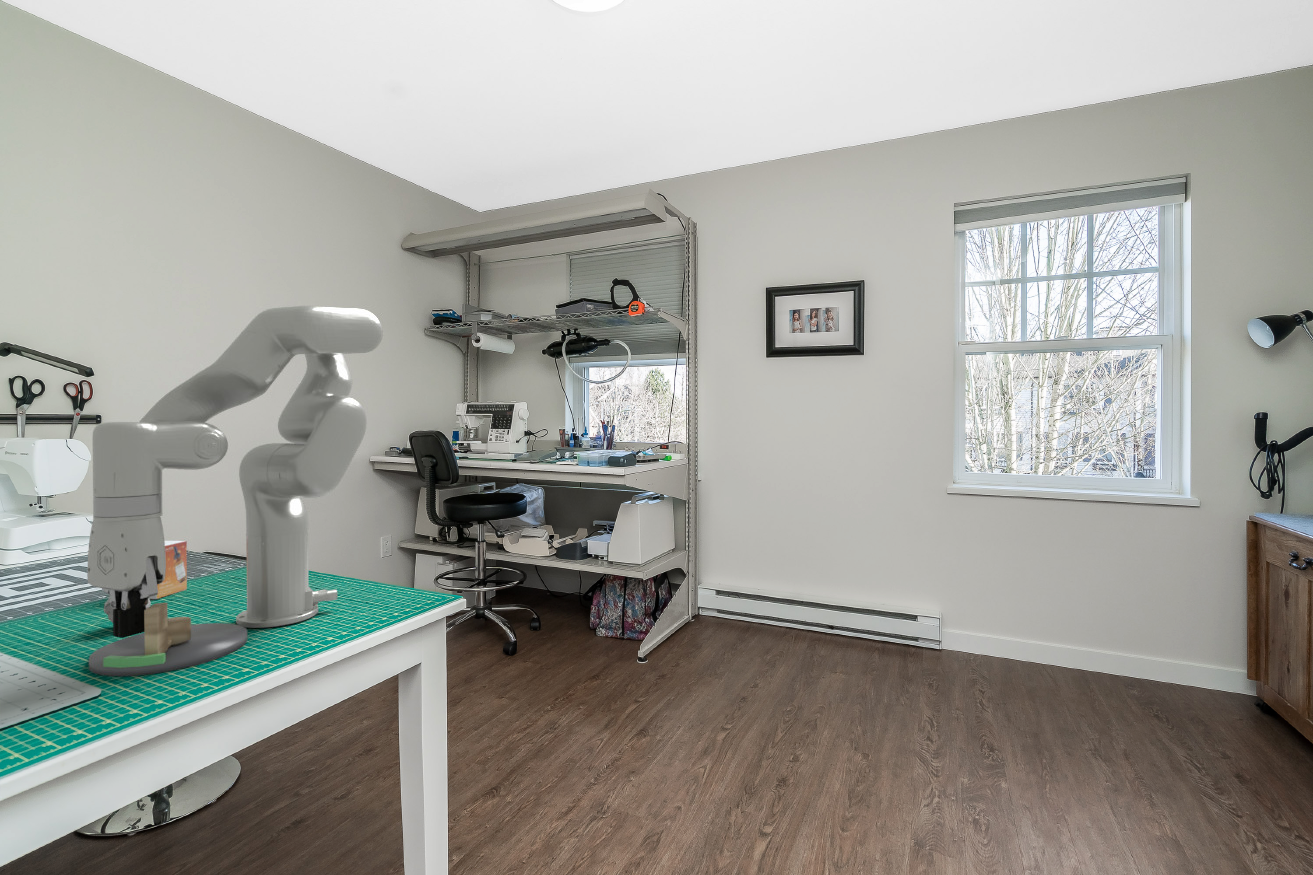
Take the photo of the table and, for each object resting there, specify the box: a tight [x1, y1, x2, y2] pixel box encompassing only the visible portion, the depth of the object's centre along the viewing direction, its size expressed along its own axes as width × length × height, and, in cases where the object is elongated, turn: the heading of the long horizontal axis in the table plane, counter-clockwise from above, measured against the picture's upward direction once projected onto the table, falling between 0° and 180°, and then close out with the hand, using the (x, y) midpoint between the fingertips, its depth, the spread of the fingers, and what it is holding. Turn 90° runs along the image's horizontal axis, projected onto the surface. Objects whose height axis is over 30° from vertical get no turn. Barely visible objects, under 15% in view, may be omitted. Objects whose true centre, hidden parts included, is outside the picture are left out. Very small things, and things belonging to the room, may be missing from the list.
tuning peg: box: [144, 602, 192, 655], centre depth 91 cm, size 10×4×7 cm, turn 21°
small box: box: [140, 540, 188, 600], centre depth 125 cm, size 8×6×10 cm
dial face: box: [88, 622, 248, 677], centre depth 93 cm, size 19×19×2 cm
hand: (129, 633), depth 87 cm, fingers closed
